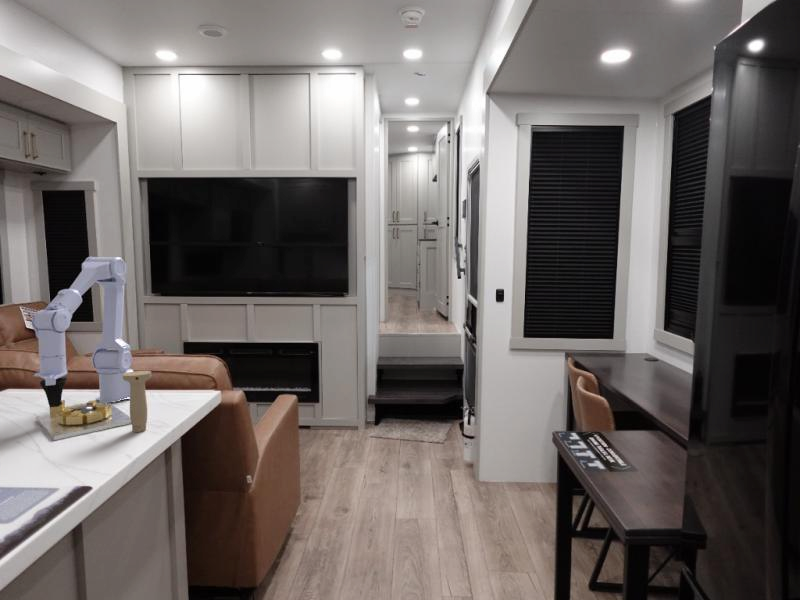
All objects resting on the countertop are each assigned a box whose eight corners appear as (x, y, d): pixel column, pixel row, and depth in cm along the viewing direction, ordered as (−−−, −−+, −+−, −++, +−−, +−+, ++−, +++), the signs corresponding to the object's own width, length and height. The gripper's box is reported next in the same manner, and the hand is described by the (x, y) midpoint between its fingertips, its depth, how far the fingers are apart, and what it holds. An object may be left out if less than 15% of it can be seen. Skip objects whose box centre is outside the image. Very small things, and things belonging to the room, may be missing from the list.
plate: (110, 406, 148) (109, 393, 148) (134, 422, 134) (133, 408, 134) (36, 420, 135) (35, 406, 135) (54, 440, 121) (53, 424, 121)
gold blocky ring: (117, 408, 141) (116, 393, 141) (99, 423, 130) (99, 405, 129) (62, 411, 139) (61, 395, 138) (39, 425, 127) (38, 408, 127)
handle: (153, 431, 128) (151, 374, 126) (124, 435, 125) (122, 376, 124) (153, 425, 132) (151, 370, 131) (125, 429, 129) (123, 372, 128)
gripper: (37, 352, 135) (40, 401, 136) (29, 361, 122) (32, 416, 123) (69, 350, 138) (71, 398, 139) (64, 359, 126) (66, 412, 127)
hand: (54, 406), depth 132 cm, fingers closed, pressing on gold blocky ring
